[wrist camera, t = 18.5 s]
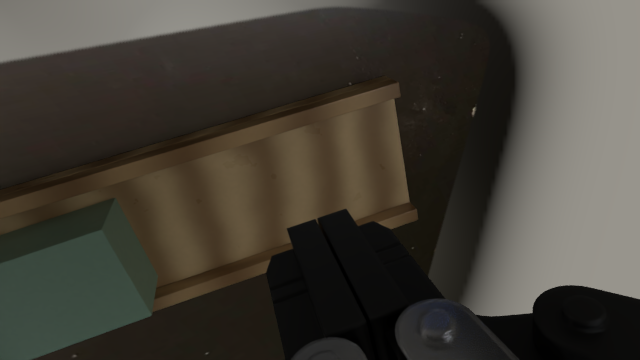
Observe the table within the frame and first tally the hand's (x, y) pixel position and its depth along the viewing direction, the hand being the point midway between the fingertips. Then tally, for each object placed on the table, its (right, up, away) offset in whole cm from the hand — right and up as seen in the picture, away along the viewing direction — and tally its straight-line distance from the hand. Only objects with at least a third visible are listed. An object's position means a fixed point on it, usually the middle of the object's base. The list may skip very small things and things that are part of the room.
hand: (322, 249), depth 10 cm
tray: (-10, -1, +26) cm, 28 cm away
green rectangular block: (-20, -5, +23) cm, 31 cm away
